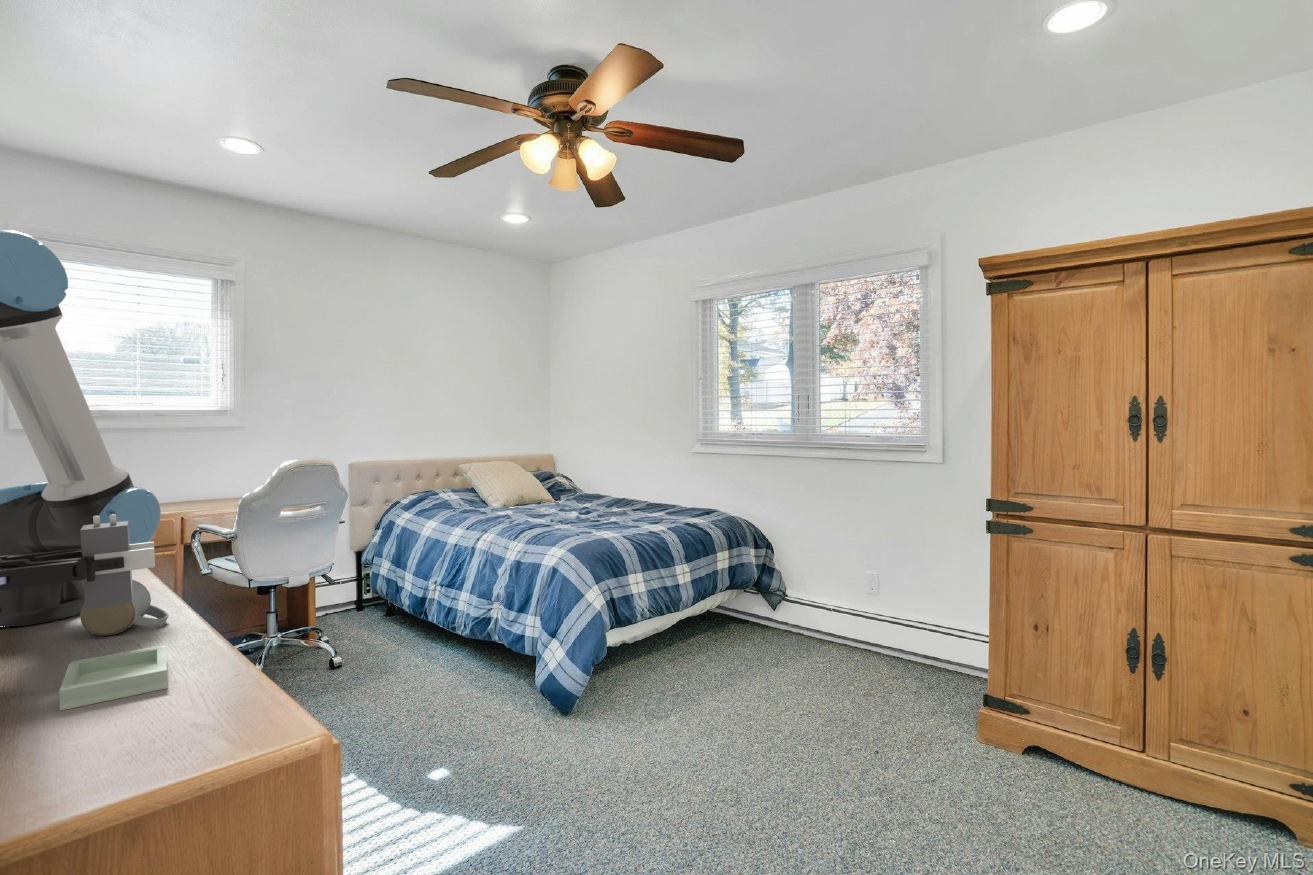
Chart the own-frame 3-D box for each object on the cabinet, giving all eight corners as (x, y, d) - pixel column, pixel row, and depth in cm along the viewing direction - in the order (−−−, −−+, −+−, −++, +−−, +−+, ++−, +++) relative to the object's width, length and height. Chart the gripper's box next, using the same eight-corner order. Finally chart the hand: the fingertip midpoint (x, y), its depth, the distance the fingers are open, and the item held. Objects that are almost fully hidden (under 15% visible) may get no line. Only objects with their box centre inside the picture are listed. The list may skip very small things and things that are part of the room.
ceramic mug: (77, 641, 102) (75, 591, 102) (95, 626, 109) (94, 580, 109) (161, 632, 107) (160, 584, 106) (173, 618, 114) (172, 573, 114)
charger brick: (88, 601, 95) (82, 515, 95) (133, 594, 98) (127, 511, 98) (85, 609, 91) (79, 519, 91) (132, 602, 94) (126, 515, 94)
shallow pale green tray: (71, 679, 86) (70, 661, 86) (166, 661, 92) (166, 644, 92) (60, 710, 77) (59, 690, 77) (167, 688, 83) (166, 669, 83)
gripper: (-57, 596, 91) (156, 568, 105) (-97, 630, 77) (155, 592, 91) (-61, 542, 91) (153, 520, 105) (-103, 565, 76) (152, 537, 90)
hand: (153, 554), depth 98 cm, fingers closed on charger brick, 5 cm apart
